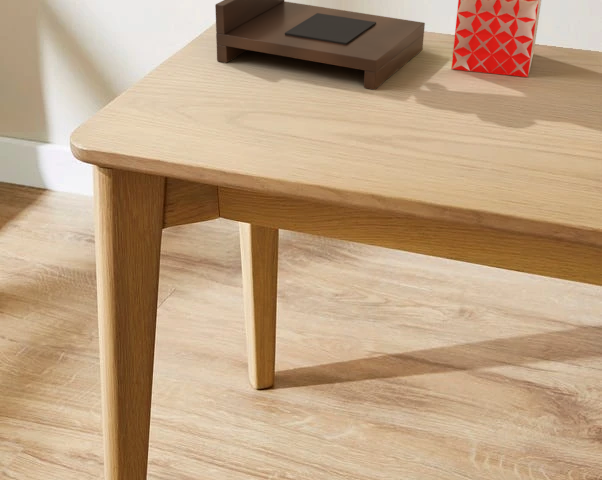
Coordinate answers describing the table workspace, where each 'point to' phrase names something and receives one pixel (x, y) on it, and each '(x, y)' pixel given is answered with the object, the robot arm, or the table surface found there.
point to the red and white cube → (495, 36)
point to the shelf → (318, 36)
